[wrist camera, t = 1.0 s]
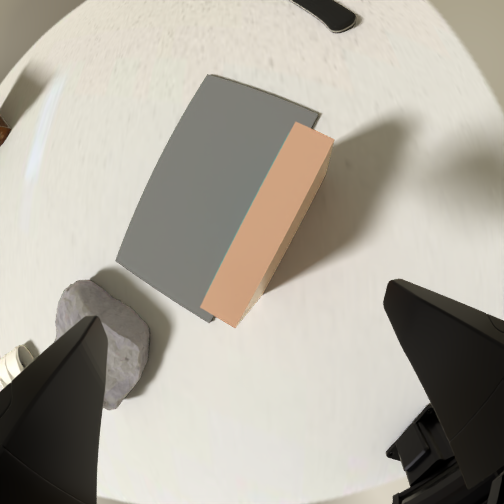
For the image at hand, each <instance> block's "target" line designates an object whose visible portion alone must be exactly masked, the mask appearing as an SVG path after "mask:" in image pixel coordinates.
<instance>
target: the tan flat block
mask: <svg viewBox="0 0 504 504" xmlns="http://www.w3.org/2000/svg"><path fill="white" fill-rule="evenodd" d="M333 144H334V139H332V138H330V137H328V136H326V135H324V134H322V133H320V132H318V131H316V130H313V129H311V128H309V127H307V126H305V125H302V124H300V123H298V122H295V124H294V125H293V127H292V129H291V131H290V133H288V135H287V137H286V139H285V141H284V142H283V144H282V146H281V148H280V150H279V152H278V154H277V156H276V157H275V159H274V161H273V163H272V165H271V167H270V169H269V171H268V173H267V174H266V176H265V178H264V180H263V182H262V184H261V186H260V188H259V190H258V192H257V194H256V195H255V197H254V199H253V201H252V203H251V205H250V207H249V209H248V211H247V213H246V215H245V217H244V219H243V221H242V223H241V225H240V227H239V228H238V230H237V232H236V234H235V236H234V238H233V240H232V242H231V244H230V246H229V248H228V250H227V252H226V254H225V256H224V258H223V260H222V262H221V264H220V266H219V268H218V270H217V272H216V274H215V276H214V278H213V280H212V282H211V284H210V286H209V288H208V290H207V292H206V294H205V295H206V296H205V298H204V300H203V302H202V304H201V306H200V308H202V309H204V310H205V311H207V312H209V313H210V314H212V315H214V316H215V317H217V318H219V319H220V320H222V321H224V322H225V323H227V324H229V325H231V326H232V327H234V328H236V327H237V325H238V324H239V323H240V322H241V321H242V319H243V318H244V317H245V316H246V314H247V313H248V312H249V311H250V310H251V308H252V307H253V306H254V305H255V303H256V302H257V301H258V300H259V299H260V297H261V296H262V295H263V293H264V291H265V289H266V287H267V286H268V284H269V282H270V280H271V278H272V276H273V275H274V273H275V271H276V269H277V267H278V265H279V264H280V262H281V260H282V258H283V256H284V254H285V252H286V250H287V249H288V247H289V245H290V243H291V241H292V239H293V237H294V235H295V234H296V232H297V230H298V228H299V226H300V224H301V222H302V220H303V218H304V216H305V214H306V213H307V211H308V209H309V207H310V205H311V203H312V201H313V199H314V197H315V195H316V193H317V191H318V189H319V187H320V185H321V183H322V181H323V179H324V177H325V175H326V172H327V168H328V164H329V160H330V156H331V152H332V148H333Z"/></svg>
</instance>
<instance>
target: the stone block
mask: <svg viewBox="0 0 504 504" xmlns="http://www.w3.org/2000/svg"><path fill="white" fill-rule="evenodd" d="M90 315H97V316H98V317H99V318H100V320H101V322H102V325H103V327H104V330H105V332H106V335H107V338H108V353H107V368H106V386H105V394H104V401H103V408H105V409H107V410H112V409H116V408H117V407H118V406H119V405H120V403H121V402H122V400H123V399H124V398H125V397H126V396H127V395H128V394H129V392H130V391H131V390H132V388H133V387H135V385H136V383H137V382H138V381H139V379H140V377H141V374H142V370H143V369H144V367H145V365H146V363H147V361H148V349H149V337H150V335H149V327H148V325H147V324H146V323H145V321H143V320H142V319H141V318H140V317H139V316H138V314H137V313H136V312H135V311H134V310H133V309H132V308H131V307H129V306H127V305H126V304H124V303H122V302H121V301H120V300H117V299H114V298H113V297H112V296H110V295H109V293H108V292H106V291H105V290H104V289H103V288H101V287H100V286H98V285H97V284H95V283H94V282H93V281H90V280H78V281H76V282H75V283H74V284H71V285H70V286H69V287H68V288H66V289H65V290H64V291H63V293H62V296H61V298H60V300H59V302H58V307H57V314H56V321H55V323H56V339H55V341H56V340H57V339H59V338H60V337H61V336H62V335H63V334H64V333H66V332H67V331H68V330H69V329H70V328H71V327H73V326H74V325H75V324H76V323H77V322H79V321H80V320H81V319H82V318H83V317H85V316H90ZM55 341H54V342H55Z"/></svg>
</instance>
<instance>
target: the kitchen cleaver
mask: <svg viewBox="0 0 504 504" xmlns="http://www.w3.org/2000/svg"><path fill="white" fill-rule="evenodd" d="M289 1H291V2H292V3H294V4H296V5H297V6H299V7H301V8H302V9H304V10H305V11H307V12H308V13H310V14H311V15H313V16H314V17H316V18H317V19H319V20H320V21H321V22H322V23H323V24H324V25H325V26H326V27H327V28H328V29H329V30H330V31H331V32H333V33H342V32H345V31H347V30H349V29H350V28H352V27H353V25H354V24H355V21H356V16H355V14H354V13H352V12H351V11H349V10H348V9H346V8H344V7H343V6H341V5H339V4H338V3H336V2H334V1H333V0H289Z"/></svg>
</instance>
